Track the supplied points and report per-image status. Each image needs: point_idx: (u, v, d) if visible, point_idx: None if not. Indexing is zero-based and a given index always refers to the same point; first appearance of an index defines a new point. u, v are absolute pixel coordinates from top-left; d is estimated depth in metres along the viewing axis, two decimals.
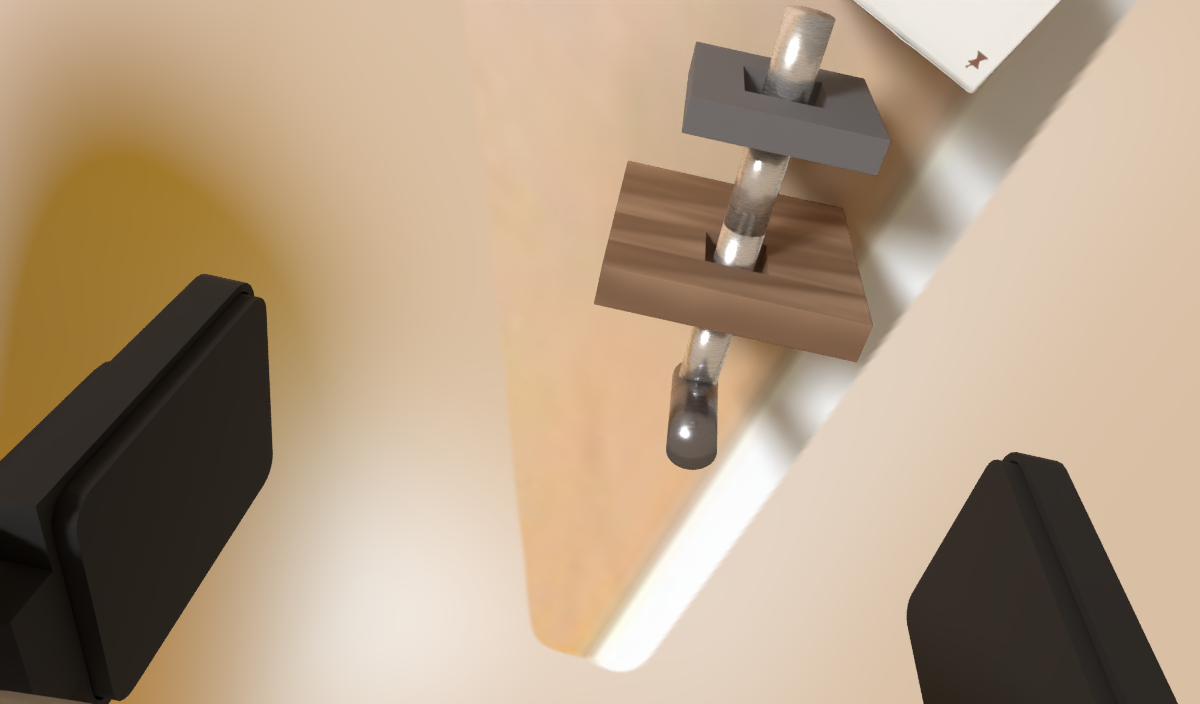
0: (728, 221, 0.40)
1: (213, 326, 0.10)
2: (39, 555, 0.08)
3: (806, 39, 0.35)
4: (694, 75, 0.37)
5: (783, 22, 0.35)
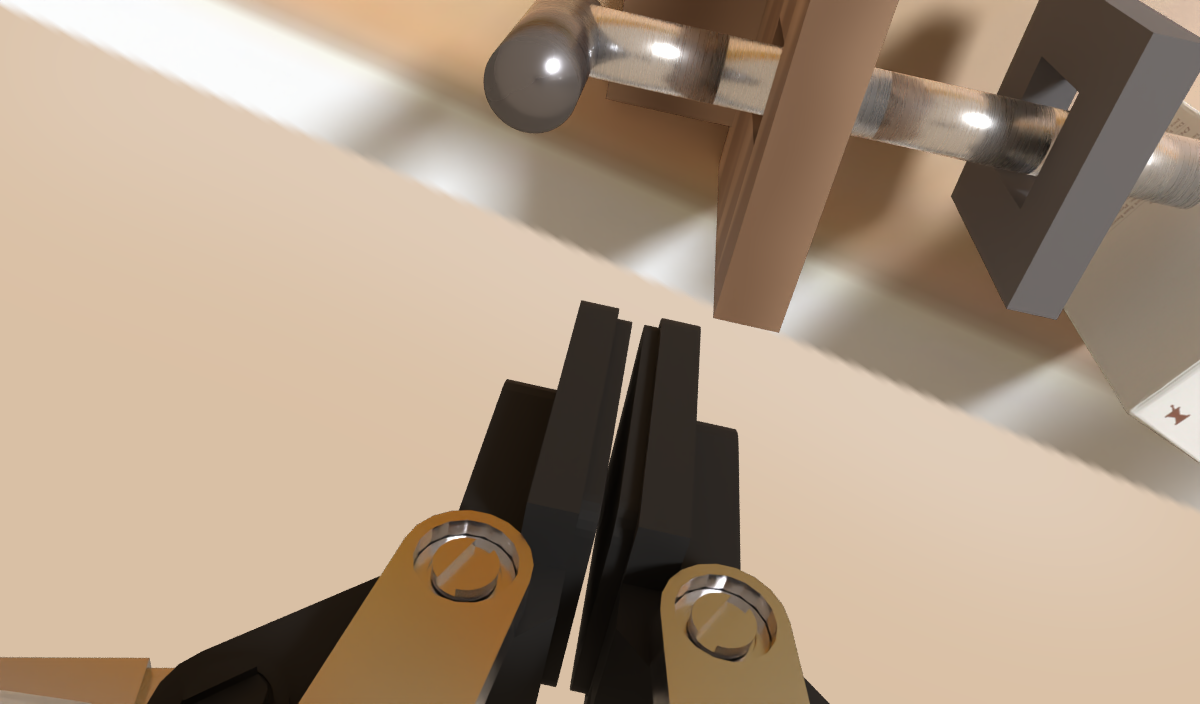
0: (902, 84, 0.25)
1: (614, 349, 0.11)
2: (559, 557, 0.09)
3: (1184, 183, 0.25)
4: (1166, 20, 0.23)
5: None
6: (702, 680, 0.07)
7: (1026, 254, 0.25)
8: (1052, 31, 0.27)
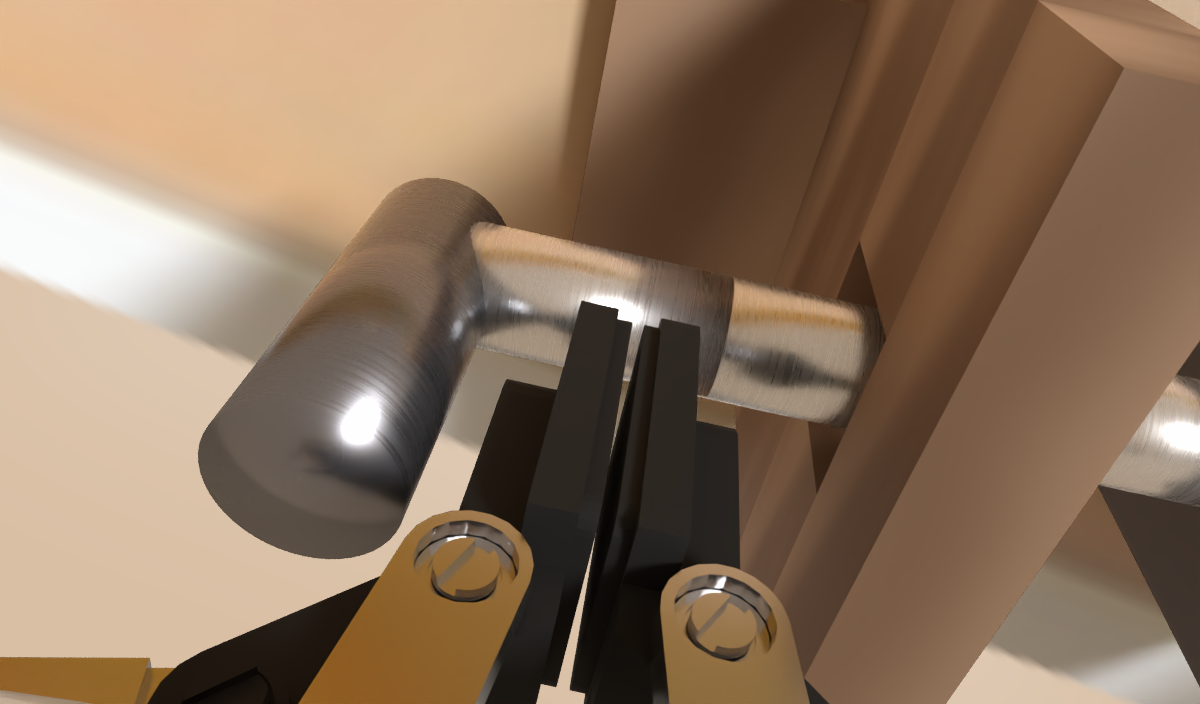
0: None
1: (614, 349, 0.11)
2: (559, 556, 0.09)
3: None
4: None
5: None
6: (702, 679, 0.07)
7: None
8: None
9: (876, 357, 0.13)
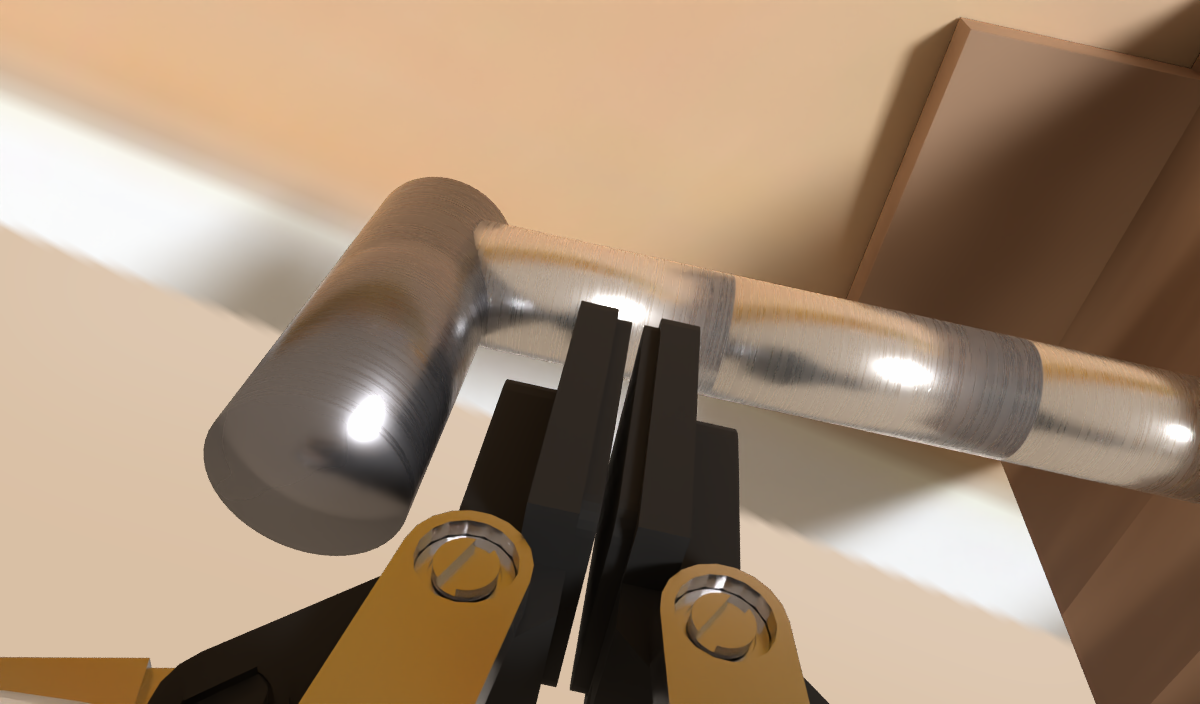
0: (1062, 380, 0.13)
1: (614, 349, 0.11)
2: (559, 556, 0.09)
3: None
4: None
5: None
6: (702, 680, 0.07)
7: None
8: None
9: (877, 355, 0.13)
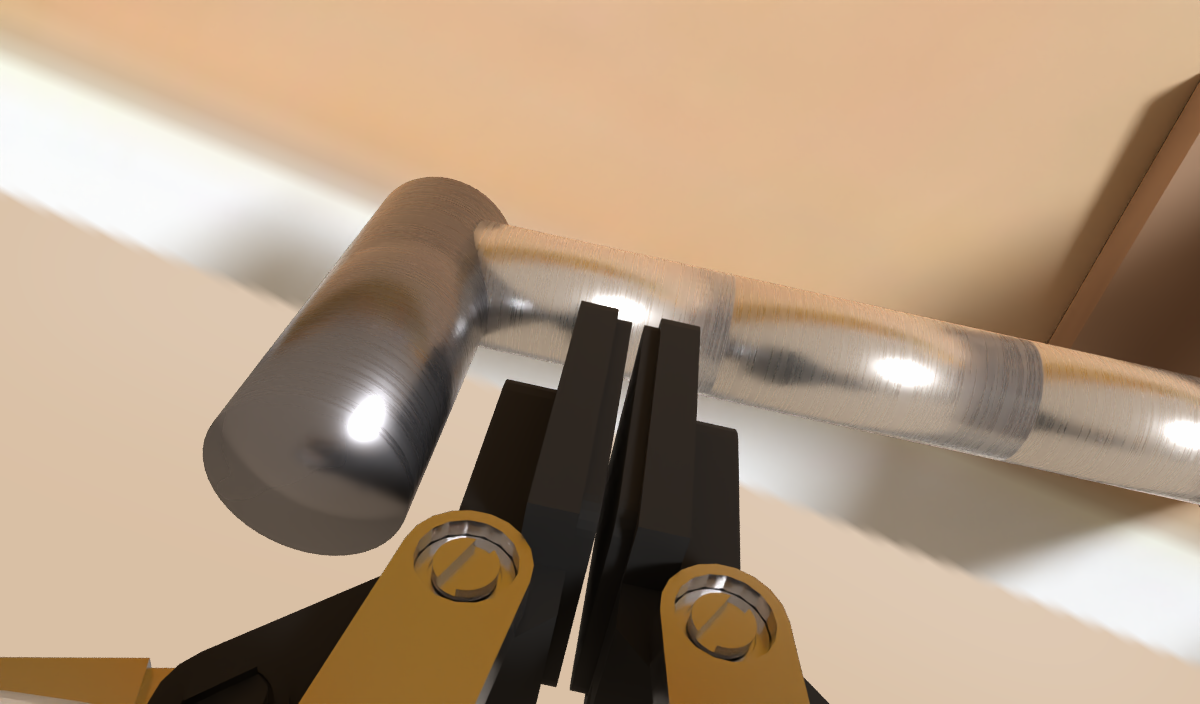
0: (1062, 380, 0.13)
1: (614, 349, 0.11)
2: (559, 557, 0.09)
3: None
4: None
5: None
6: (702, 680, 0.07)
7: None
8: None
9: (877, 355, 0.13)
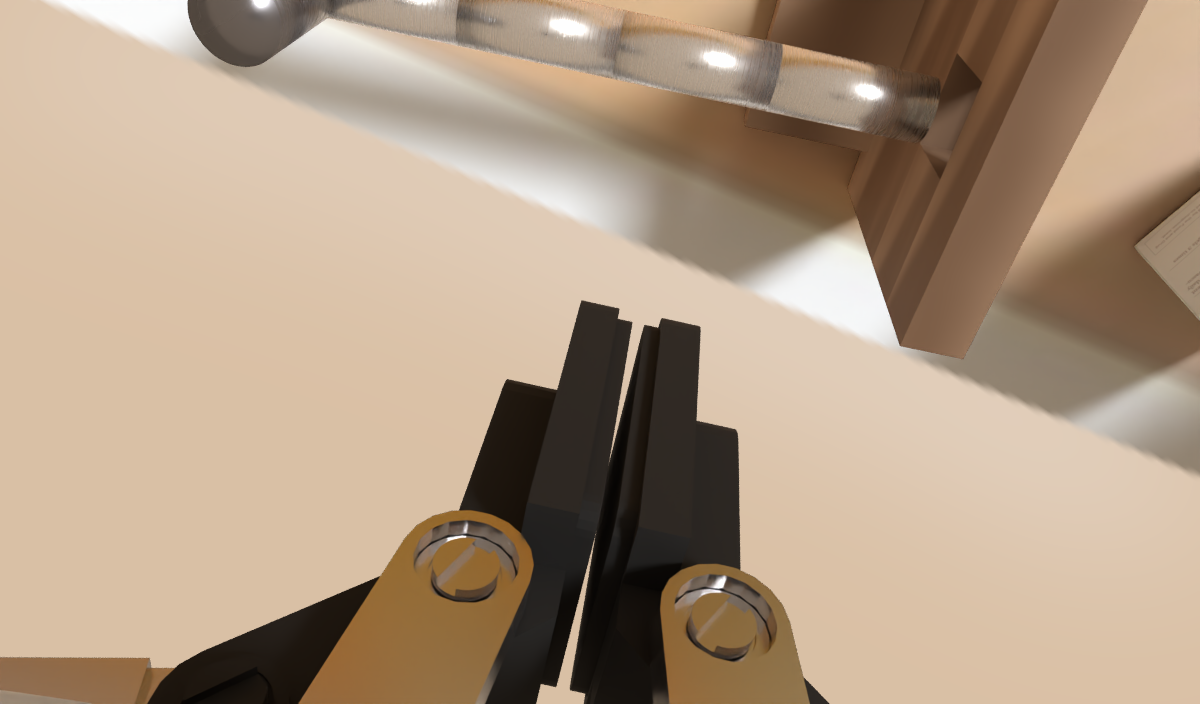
0: (632, 22, 0.26)
1: (615, 349, 0.11)
2: (559, 556, 0.09)
3: (907, 116, 0.26)
4: None
5: (923, 78, 0.26)
6: (702, 680, 0.07)
7: None
8: None
9: (536, 9, 0.26)
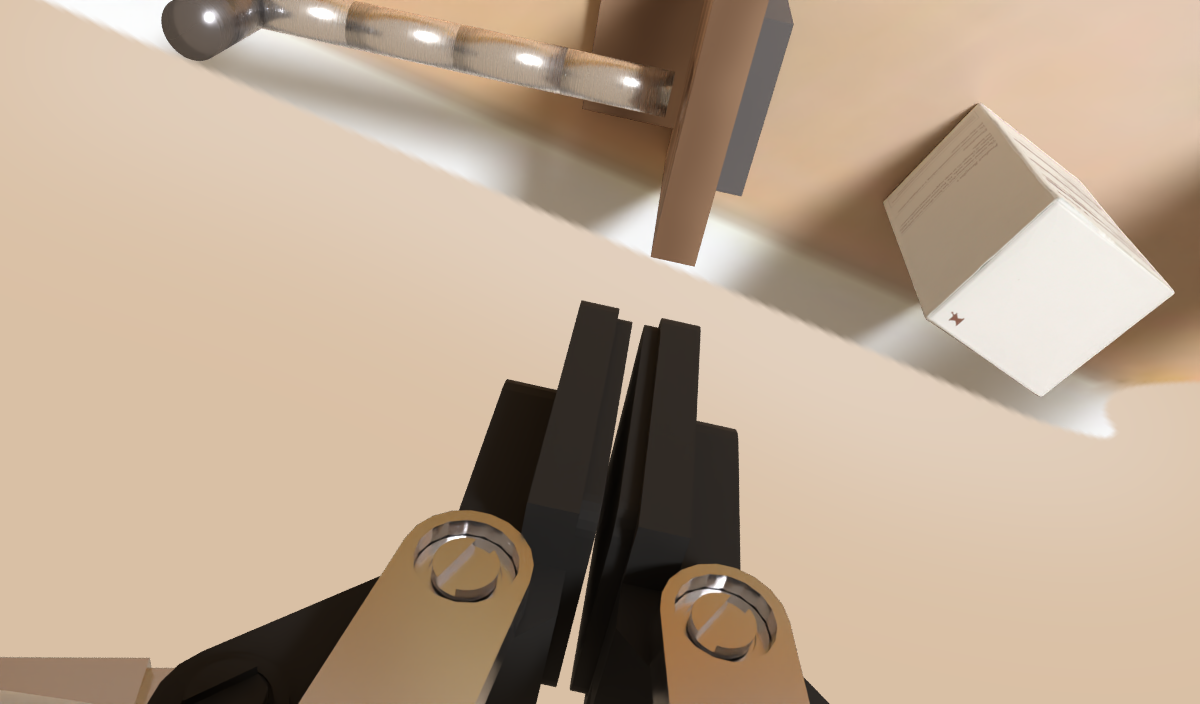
0: (464, 33, 0.38)
1: (614, 349, 0.11)
2: (559, 557, 0.09)
3: (651, 98, 0.38)
4: (789, 10, 0.39)
5: (663, 72, 0.38)
6: (702, 680, 0.07)
7: None
8: None
9: (399, 24, 0.38)
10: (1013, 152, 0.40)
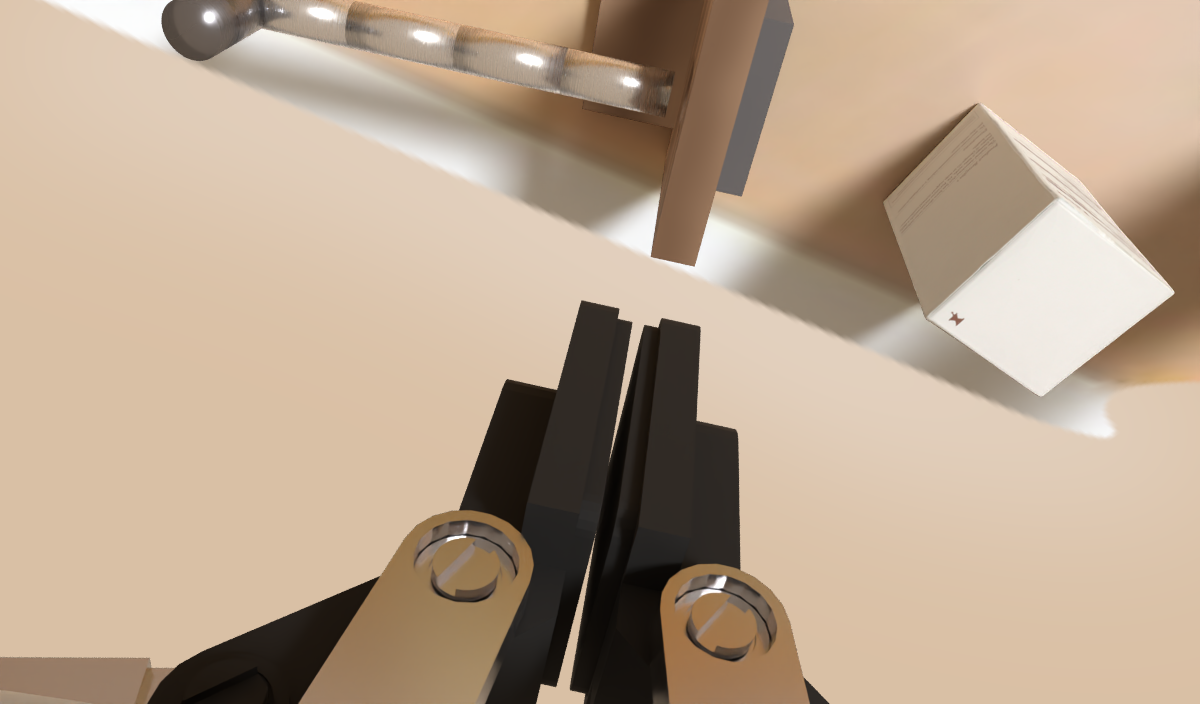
0: (464, 33, 0.38)
1: (614, 349, 0.11)
2: (559, 556, 0.09)
3: (651, 98, 0.38)
4: (789, 10, 0.39)
5: (663, 72, 0.38)
6: (702, 680, 0.07)
7: None
8: None
9: (399, 24, 0.38)
10: (1013, 152, 0.40)
